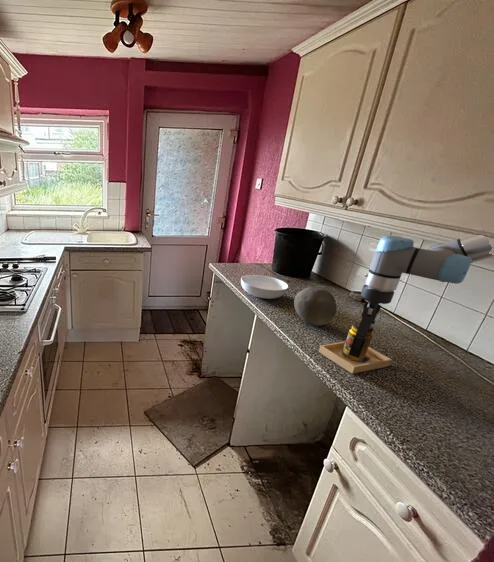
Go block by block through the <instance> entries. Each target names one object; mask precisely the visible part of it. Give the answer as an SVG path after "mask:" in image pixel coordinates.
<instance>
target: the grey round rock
mask: <svg viewBox="0 0 494 562" xmlns="http://www.w3.org/2000/svg"><path fill="white" fill-rule="evenodd" d="M293 304H294V305H293V306H294V310H295V313H296V314H297V315H298V317H299V318H300V319H302V320H303V321H304V322H306V323H308V324H309V325H313V326H324V325H328V324H329V323H330V322H331V321H332V320H333V318H334V317H335V315H336V313H337V310H338V309H337V306H338V305H337V302H336V299H335V297H334V295H333V294H332V293H331V292H329V291H328V289H327V290H326V289H324V288H321V287H316V286H314V287H313V286H311V287H306V288H304V289H302V290H301V291H299V292H298V293H297V294H296V295H295V297H294V300H293Z"/></svg>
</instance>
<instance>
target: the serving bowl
mask: <svg viewBox="0 0 494 562" xmlns="http://www.w3.org/2000/svg"><path fill="white" fill-rule="evenodd" d="M240 285H241V287H242V289H243V290H244V291H245V292H246V293H247V294H249V295H251V296H254V297H255V298H256V297H257V298H260V299H270V300H273V299H278V298H280V297H283V296H284V295H285V294H286V293H287V291H288V289H289V285H288V284H287V283H286V282H285V281H283V280H281V279H278V278H276V277H272V276H267V275H262V274H247V275H243V276H241V278H240Z"/></svg>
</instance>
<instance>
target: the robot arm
mask: <svg viewBox="0 0 494 562" xmlns="http://www.w3.org/2000/svg"><path fill="white" fill-rule="evenodd" d="M471 235H472V234H471ZM467 236H468V237H466V236H463V237H460V238H457V239H454V240H451V241H447V242H440V243H436V244H433V245H431V246H429V247H428V248H420V247H416V246H414V244H415V241H414V240H413V239H411V238H409V237H403V236H396V235H385V236H383V237H381V238H380V239H379V241H378V244H377V246H376V249H375V250H374V253H373V256H372V260H371V263H370V265H369V269H368V272H367V273H364V277H365V280H364V285H363V286H362V289H361V291H360V297H361V298H362V299H363V300H366V301H364V305H363V306H362V313H361V315H360V317H361V320H360V322H361V323H360V325H359V328H358V331H357V333H356V335H354V334H353V335H352V337H355V338H354V340H353V343H352V346H351V349H350V352H349V354H348V355H351V356H354V357H357V358H359V356H360V354H361V351H362V348H363V346H364V343H365V340H366V336H367V333H368V331H369V328H370V325H371V326H372V325H375V323H376V321H375V320H376V318H377V316H378V314H379V313H380V310H381V308H382V305H387V304H390V303H391V302H392V301H393V298H394V295H395V291H396V290H397V288H398V286H399V283H400V280H401V278H402V274H406V275H411V276H415V277H421V278H425V279H429V280H430V279H431V280H434V281H437V282H441V283H449V284H455V285H456V284H457V285H458V284H461V283H463V281H464V280H465V278H466V276H467V273H468V271H469V269H470V268H471V265H472V264H473V263H478V262H481V261H484V260H489V259H492V258H494V255H492V254H489V252H490V251H491V249H492V247H491V245H490V244H489V240H488V239H489V237H485V236H483V235H474V236H473V235H472V236H469V235H467ZM380 304H382V305H380Z"/></svg>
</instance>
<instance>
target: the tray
mask: <svg viewBox="0 0 494 562" xmlns="http://www.w3.org/2000/svg"><path fill="white" fill-rule="evenodd" d="M345 342H346V340H344V341H340V342H334V343H328V344H322V345H320V346H319V349H318V353H319V354H321V355H323V356H324V357H325V358H327V359H329V360H330V361H332V362H333V363H335V364H336V365H338V366H339V367H341V368H342V369H344V370H345V371H347V372H348V373H350V374H359V373H364V372H368V371H371V370H376V369H377V370H378V369H382V368H387V367H390V366H391V364H392V361H393V359H392V358H391V357H388V356H387V355H386V354H383V353H381V352H380V351H377V350H376V349H374V348H373V347H370V346H369V347H368V350H367V352H366V355H367V356H370V357H372V358H371V359H369V360H368V361H367V362H366V363H364V364H361V365H359V364H357V363H354V362H352V361H350V360H347V359H345V358H343V357H341V356H339V355H337V354H338V353H339V352H341V351H342V350H343V348H344V345H345Z"/></svg>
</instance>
